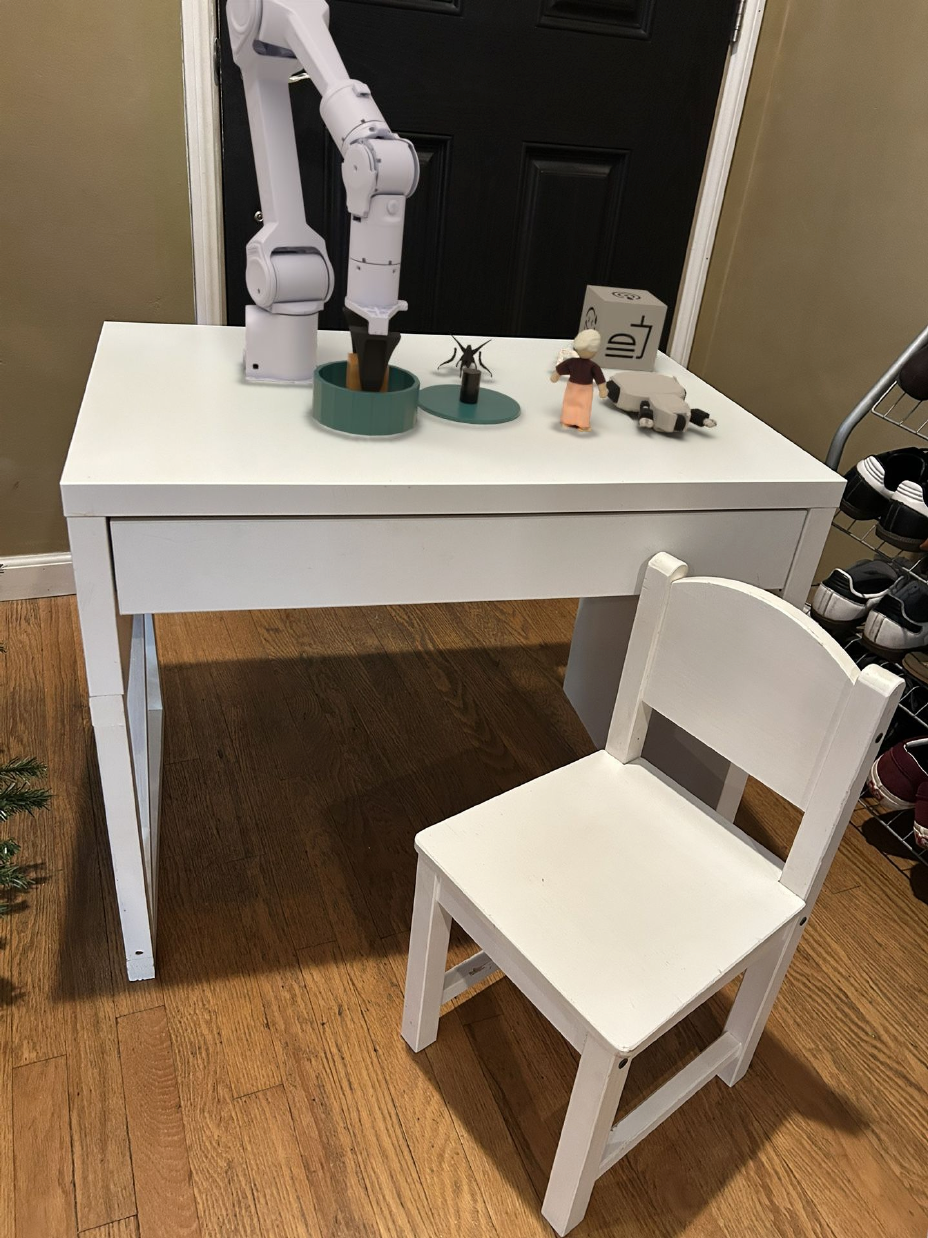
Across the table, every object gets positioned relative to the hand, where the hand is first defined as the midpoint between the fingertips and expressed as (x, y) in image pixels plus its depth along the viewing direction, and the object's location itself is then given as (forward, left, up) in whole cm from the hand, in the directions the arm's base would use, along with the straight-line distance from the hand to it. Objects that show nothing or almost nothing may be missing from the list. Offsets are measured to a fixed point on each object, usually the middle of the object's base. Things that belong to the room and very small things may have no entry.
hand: (367, 379), depth 111 cm
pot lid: (+14, +6, -5) cm, 16 cm away
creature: (+16, +21, -5) cm, 27 cm away
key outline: (+33, +26, -5) cm, 42 cm away
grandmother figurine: (+26, +1, -5) cm, 27 cm away
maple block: (0, 0, -5) cm, 5 cm away
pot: (0, 0, -5) cm, 5 cm away
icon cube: (+43, +34, -5) cm, 55 cm away
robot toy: (+39, +6, -5) cm, 40 cm away
